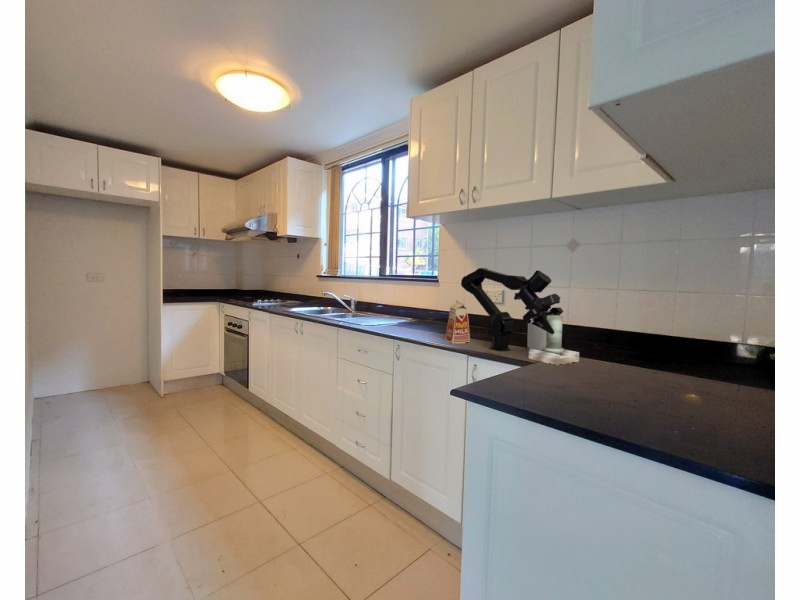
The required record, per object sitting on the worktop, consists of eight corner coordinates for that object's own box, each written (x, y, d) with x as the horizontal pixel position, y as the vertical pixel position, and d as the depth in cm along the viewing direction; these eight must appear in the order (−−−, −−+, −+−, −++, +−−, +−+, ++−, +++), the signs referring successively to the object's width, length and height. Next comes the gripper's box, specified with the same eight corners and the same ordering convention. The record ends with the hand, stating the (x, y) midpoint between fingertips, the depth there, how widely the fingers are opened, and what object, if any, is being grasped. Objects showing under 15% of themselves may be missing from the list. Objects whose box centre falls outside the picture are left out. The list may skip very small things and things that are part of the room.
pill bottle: (528, 346, 153) (529, 313, 152) (547, 348, 149) (548, 314, 148) (526, 349, 146) (527, 314, 145) (546, 351, 142) (547, 315, 141)
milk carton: (444, 340, 165) (445, 299, 164) (461, 340, 168) (462, 299, 167) (453, 344, 156) (454, 300, 155) (471, 343, 159) (472, 300, 158)
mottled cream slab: (528, 358, 128) (529, 349, 128) (550, 355, 133) (550, 346, 133) (556, 365, 117) (557, 355, 117) (578, 361, 123) (579, 352, 123)
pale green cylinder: (539, 349, 128) (541, 314, 127) (555, 349, 129) (557, 314, 129) (550, 353, 121) (552, 316, 121) (567, 352, 123) (569, 316, 122)
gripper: (531, 286, 122) (559, 320, 113) (559, 286, 133) (587, 317, 124) (511, 306, 129) (537, 340, 120) (540, 305, 140) (565, 336, 131)
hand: (557, 332), depth 124 cm, fingers closed on pale green cylinder, 5 cm apart
